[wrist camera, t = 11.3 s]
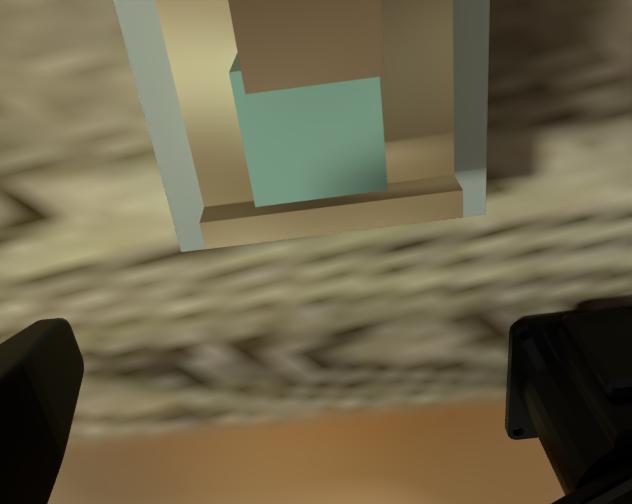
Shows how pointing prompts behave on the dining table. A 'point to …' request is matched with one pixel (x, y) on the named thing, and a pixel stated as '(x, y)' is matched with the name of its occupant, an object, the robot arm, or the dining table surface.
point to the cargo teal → (312, 139)
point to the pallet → (401, 124)
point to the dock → (172, 139)
